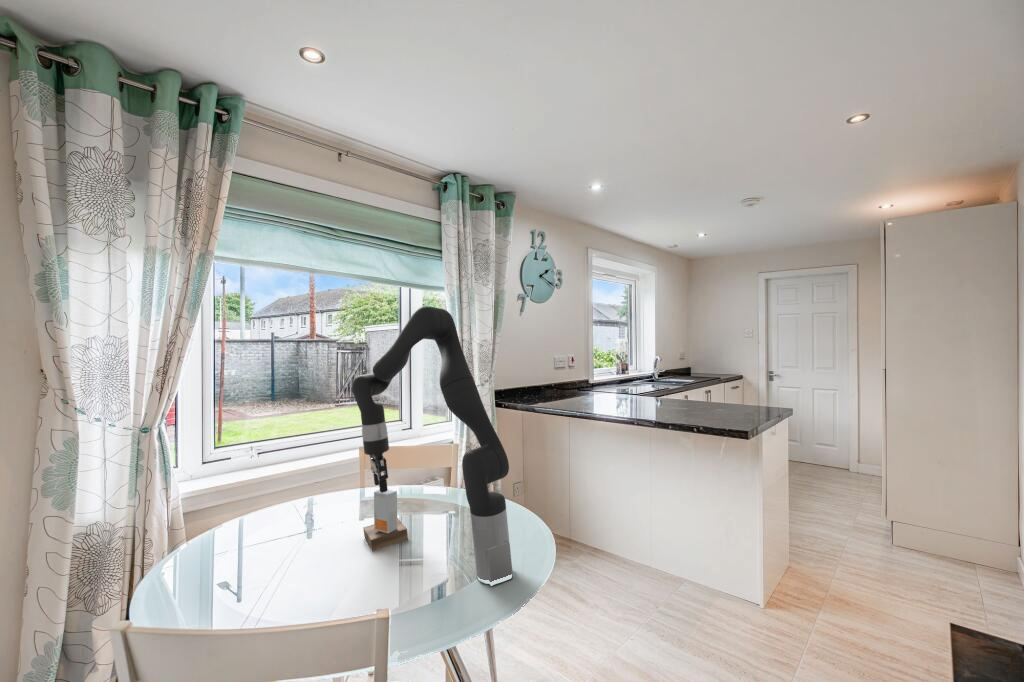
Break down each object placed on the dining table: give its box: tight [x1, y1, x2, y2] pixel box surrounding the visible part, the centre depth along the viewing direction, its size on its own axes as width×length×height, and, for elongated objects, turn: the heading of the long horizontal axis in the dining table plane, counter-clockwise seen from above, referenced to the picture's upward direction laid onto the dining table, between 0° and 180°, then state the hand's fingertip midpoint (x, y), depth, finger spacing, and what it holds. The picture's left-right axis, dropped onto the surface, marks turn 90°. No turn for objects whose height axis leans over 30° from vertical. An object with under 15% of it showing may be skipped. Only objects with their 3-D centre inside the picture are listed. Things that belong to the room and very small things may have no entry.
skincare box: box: [373, 488, 398, 533], centre depth 142 cm, size 6×4×12 cm
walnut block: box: [362, 517, 409, 552], centre depth 145 cm, size 11×11×4 cm
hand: (381, 488), depth 144 cm, fingers open, 8 cm apart
